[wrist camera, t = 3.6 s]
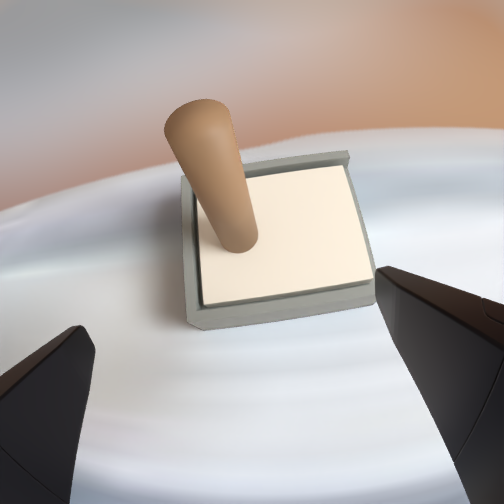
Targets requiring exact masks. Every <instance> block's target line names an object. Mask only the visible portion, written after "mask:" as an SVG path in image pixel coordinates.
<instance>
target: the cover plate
mask: <svg viewBox="0 0 504 504" xmlns="http://www.w3.org/2000/svg"><path fill="white" fill-rule="evenodd" d="M164 132H165V137H166V138H167V141H168V143H169V144H170V146H171V148H172V150H173V152H174V154H175V156H176V158H177V160H178V162H179V164H180V166H181V168H182V170H183V172H184V174H185V176H186V178H187V180H188V182H189V184H190V185H191V187H192V189H193V191H194V193H195V195H196V197H197V210H198V229H199V246H200V262H201V276H202V289H203V302H204V305H205V306H206V307H207V308H210V307H218V306H226V305H233V304H241V303H248V302H255V301H262V300H269V299H276V298H282V297H289V296H295V295H301V294H308V293H314V292H320V291H326V290H332V289H338V288H343V287H349V286H355V285H360V284H366V283H370V282H371V281H372V280H373V273H372V269H371V265H370V261H369V256H368V252H367V248H366V244H365V241H364V237H363V233H362V229H361V226H360V222H359V218H358V215H357V211H356V208H355V204H354V201H353V197H352V194H351V191H350V187H349V184H348V181H347V178H346V174H345V171H344V168H343V165H340V166H331V167H323V168H315V169H308V170H300V171H293V172H286V173H279V174H272V175H266V176H259V177H253V178H247V179H246V178H245V174H244V170H243V166H242V162H241V157H240V153H239V149H238V145H237V141H236V137H235V133H234V129H233V124H232V120H231V116H230V113H229V110H228V108H227V107H226V106H225V105H224V104H222V103H221V102H218V101H215V100H210V99H201V100H195V101H192V102H189V103H187V104H184V105H182V106H181V107H179V108H178V109H176V110H175V111H174V112H173V113H172V114H171V115H170V116H169V118H168V120H167V121H166V124H165V127H164Z"/></svg>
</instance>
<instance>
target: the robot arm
mask: <svg viewBox="0 0 504 504" xmlns="http://www.w3.org/2000/svg"><path fill="white" fill-rule="evenodd" d="M375 297H376V301H377V304H378V306H379V308H380V311H381V313H382V316H383V318H384V320H385V323H386V325H387V328H388V330H389V333H390V335H391V337H392V340H393V342H394V344H395V346H396V348H397V350H398V351H399V353H400V355H401V357H402V359H403V361H404V363H405V364H406V366H407V368H408V370H409V372H410V374H411V376H412V378H413V380H414V381H415V383H416V385H417V387H418V389H419V391H420V393H421V395H422V397H423V399H424V401H425V403H426V405H427V407H428V409H429V411H430V413H431V415H432V417H433V419H434V421H435V423H436V425H437V428H438V430H439V432H440V434H441V436H442V438H443V440H444V443H445V445H446V447H447V449H448V451H449V454H450V456H451V458H452V460H453V462H454V465H455V468H456V470H457V472H458V474H459V477H460V479H461V482H462V484H463V486H464V489H465V491H466V494H467V496H468V499H469V501H470V504H504V305H503V304H500V303H497V302H494V301H491V300H489V299H486V298H481V297H480V296H477V295H474V294H471V293H468V292H466V291H463V290H460V289H457V288H454V287H451V286H448V285H445V284H442V283H439V282H436V281H433V280H430V279H427V278H424V277H421V276H418V275H415V274H412V273H409V272H406V271H403V270H400V269H397V268H394V267H391V266H385V267H381V268H377V269H376V270H375ZM94 358H95V346H94V344H93V342H92V340H91V338H90V337H89V335H88V333H87V331H86V329H85V328H84V327H83V326H81V325H78V326H72V327H70V328H68V329H67V330H65V331H64V332H62V333H61V334H60V335H58V336H57V337H55V338H54V339H52V340H51V341H49V342H48V343H47V344H45V345H44V346H42V347H41V348H39V349H38V350H36V351H35V352H34V353H32V354H31V355H29V356H28V357H27V358H25V359H24V360H22V361H21V362H19V363H18V364H17V365H15V366H14V367H12V368H11V369H10V370H8V371H7V372H5V373H4V374H3V375H1V376H0V504H69V503H70V494H71V487H72V480H73V473H74V466H75V460H76V454H77V449H78V443H79V438H80V433H81V428H82V423H83V418H84V414H85V409H86V405H87V400H88V396H89V391H90V385H91V378H92V371H93V364H94Z"/></svg>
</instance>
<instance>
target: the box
mask: <svg viewBox="0 0 504 504" xmlns="http://www.w3.org/2000/svg"><path fill="white" fill-rule="evenodd" d="M349 159H350V156H349V153H348V150H345V151H336V152H327V153H318V154H310V155H302V156H295V157H288V158H281V159H274V160H267V161H261V162H254V163H248V164H242V166H243V170H244V174H245V178H246V179H247V178H253V177H259V176H266V175H272V174H279V173H286V172H293V171H300V170H308V169H315V168H323V167H331V166H340V165H343V168H344V171H345V174H346V178H347V181H348V184H349V187H350V191H351V194H352V197H353V201H354V204H355V208H356V211H357V215H358V218H359V222H360V226H361V229H362V233H363V237H364V241H365V244H366V248H367V252H368V256H369V261H370V265H371V269H372V273H373V280H372V281H371V282H370V283H366V284H360V285H355V286H349V287H343V288H338V289H332V290H326V291H320V292H314V293H308V294H301V295H295V296H289V297H282V298H276V299H269V300H262V301H255V302H248V303H241V304H233V305H226V306H218V307H210V308H207V307H206V306H205V305H204V302H203V289H202V276H201V262H200V246H199V229H198V210H197V197H196V195H195V193H194V191H193V189H192V187H191V185H190V184H189V182H188V180H187V178H186V176H185V175H183V176H181V209H182V242H183V265H184V284H185V300H186V315H187V323H189V324H191V325H193V326H195V327H197V328H199V329H201V330H204V331H206V330H215V329H223V328H231V327H239V326H247V325H255V324H262V323H269V322H276V321H283V320H289V319H296V318H302V317H308V316H314V315H320V314H326V313H332V312H337V311H343V310H348V309H354V308H359V307H364V306H369V305H373V304H374V303H375V302H377V301H376V297H375V270H376V267H375V263H374V259H373V255H372V251H371V247H370V243H369V239H368V235H367V232H366V228H365V224H364V221H363V217H362V214H361V210H360V207H359V203H358V200H357V197H356V193H355V190H354V187H353V184H352V181H351V177H350V174H349V171H348V168H347V167H348V163H349Z"/></svg>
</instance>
